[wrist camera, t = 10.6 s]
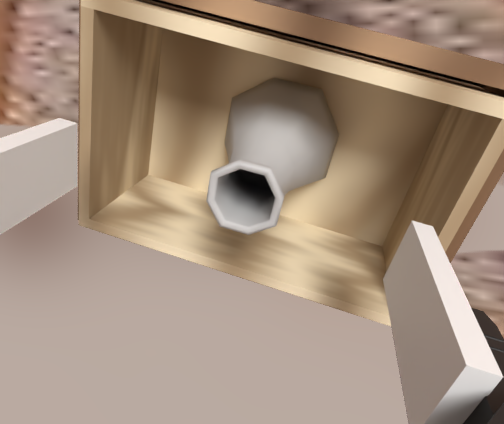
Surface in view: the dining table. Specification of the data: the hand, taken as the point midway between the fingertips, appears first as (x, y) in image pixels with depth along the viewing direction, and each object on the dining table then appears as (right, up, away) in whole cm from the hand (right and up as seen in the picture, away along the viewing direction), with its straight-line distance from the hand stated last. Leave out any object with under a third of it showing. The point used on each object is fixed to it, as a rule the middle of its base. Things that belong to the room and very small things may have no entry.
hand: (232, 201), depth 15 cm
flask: (+3, +4, +10) cm, 11 cm away
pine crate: (+3, +5, +11) cm, 12 cm away
